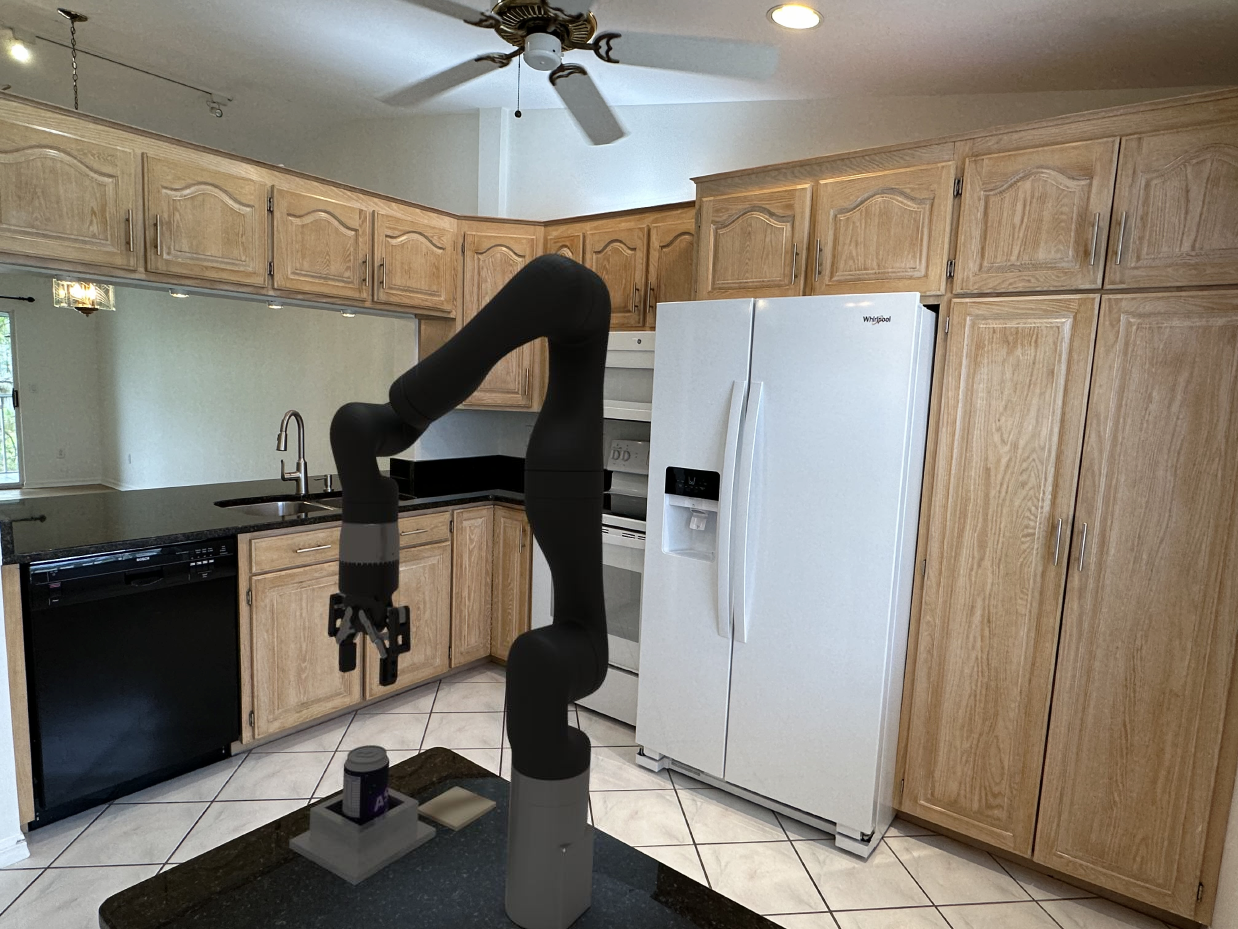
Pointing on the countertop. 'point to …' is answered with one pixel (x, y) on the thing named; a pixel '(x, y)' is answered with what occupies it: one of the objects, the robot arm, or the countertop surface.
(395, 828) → the sleeve
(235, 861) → the countertop surface
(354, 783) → the beverage can
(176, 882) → the countertop surface
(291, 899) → the countertop surface
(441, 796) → the birch pad
